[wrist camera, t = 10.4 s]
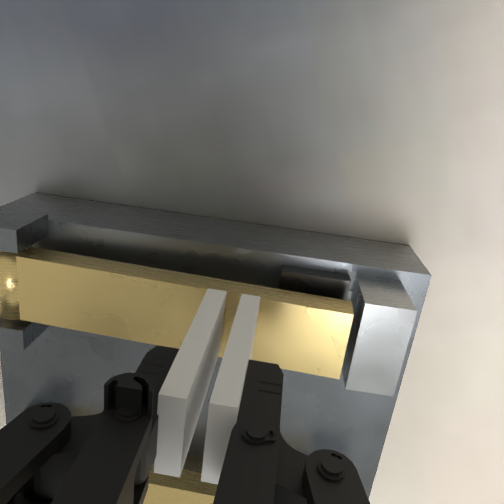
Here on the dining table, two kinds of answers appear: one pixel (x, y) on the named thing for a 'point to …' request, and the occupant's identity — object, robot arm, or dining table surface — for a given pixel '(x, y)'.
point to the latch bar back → (179, 489)
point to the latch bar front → (169, 307)
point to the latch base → (233, 269)
